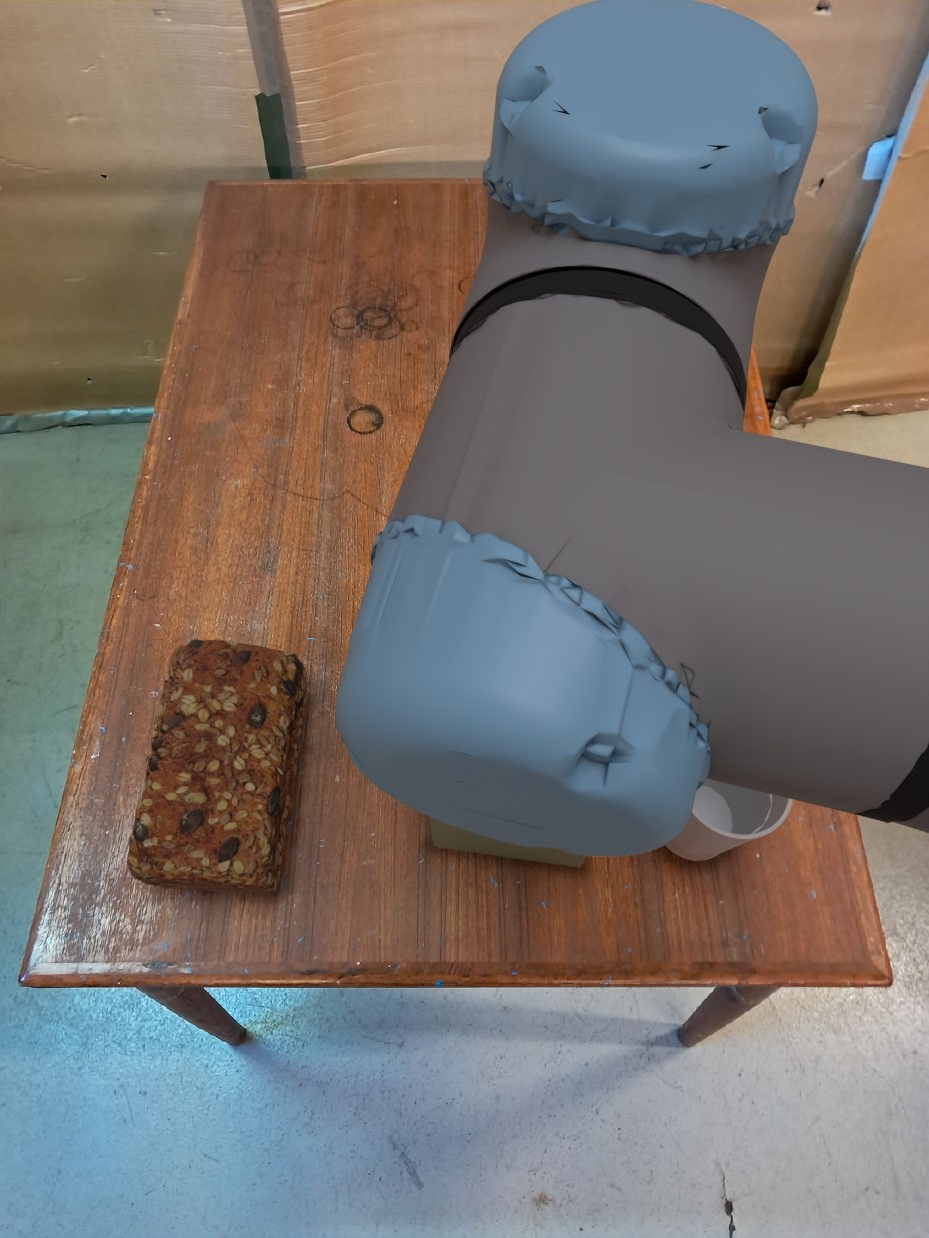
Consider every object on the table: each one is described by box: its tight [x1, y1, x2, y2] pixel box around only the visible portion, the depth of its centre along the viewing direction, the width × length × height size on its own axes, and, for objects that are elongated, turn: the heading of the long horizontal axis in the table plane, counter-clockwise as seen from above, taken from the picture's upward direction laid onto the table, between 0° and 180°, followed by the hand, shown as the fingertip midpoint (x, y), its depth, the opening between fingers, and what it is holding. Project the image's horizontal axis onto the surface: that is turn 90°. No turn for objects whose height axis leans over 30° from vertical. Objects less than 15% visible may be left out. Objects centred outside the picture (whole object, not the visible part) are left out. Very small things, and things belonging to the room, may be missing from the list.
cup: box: [664, 778, 794, 862], centre depth 62 cm, size 8×8×12 cm
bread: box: [126, 638, 308, 893], centre depth 65 cm, size 19×11×10 cm, turn 177°
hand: (531, 704), depth 52 cm, fingers closed on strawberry, 4 cm apart
